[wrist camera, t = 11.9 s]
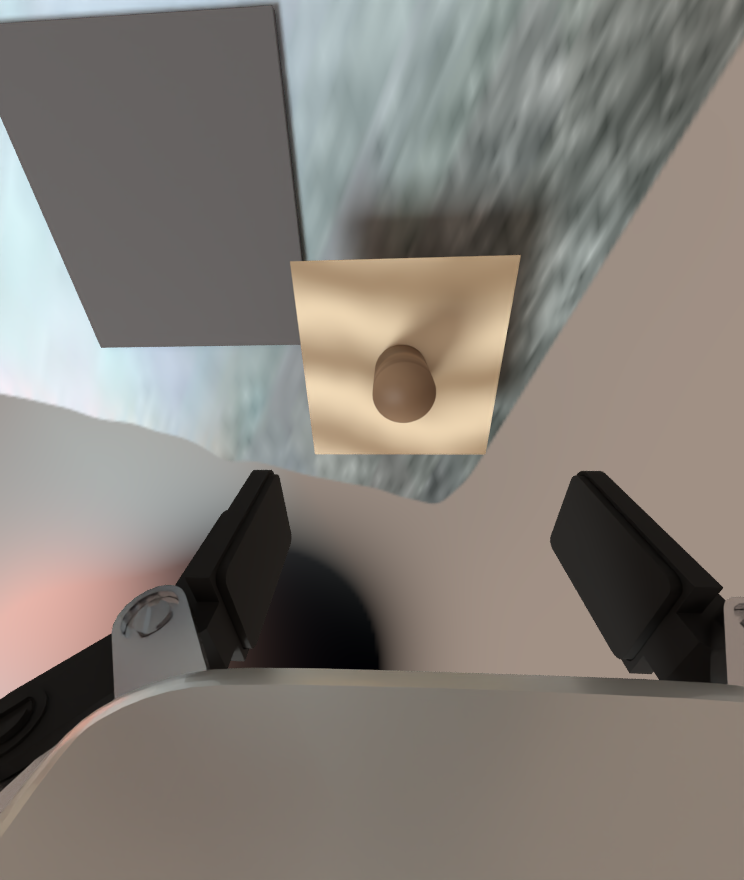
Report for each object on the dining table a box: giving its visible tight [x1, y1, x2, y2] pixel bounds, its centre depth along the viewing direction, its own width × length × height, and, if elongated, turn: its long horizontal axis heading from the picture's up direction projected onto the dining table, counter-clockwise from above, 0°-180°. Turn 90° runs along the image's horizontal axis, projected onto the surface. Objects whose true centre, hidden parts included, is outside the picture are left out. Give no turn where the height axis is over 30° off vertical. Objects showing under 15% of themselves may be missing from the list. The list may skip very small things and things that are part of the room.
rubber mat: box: [0, 5, 303, 348], centre depth 24 cm, size 20×20×1 cm
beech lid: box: [290, 255, 521, 454], centre depth 22 cm, size 15×15×6 cm
